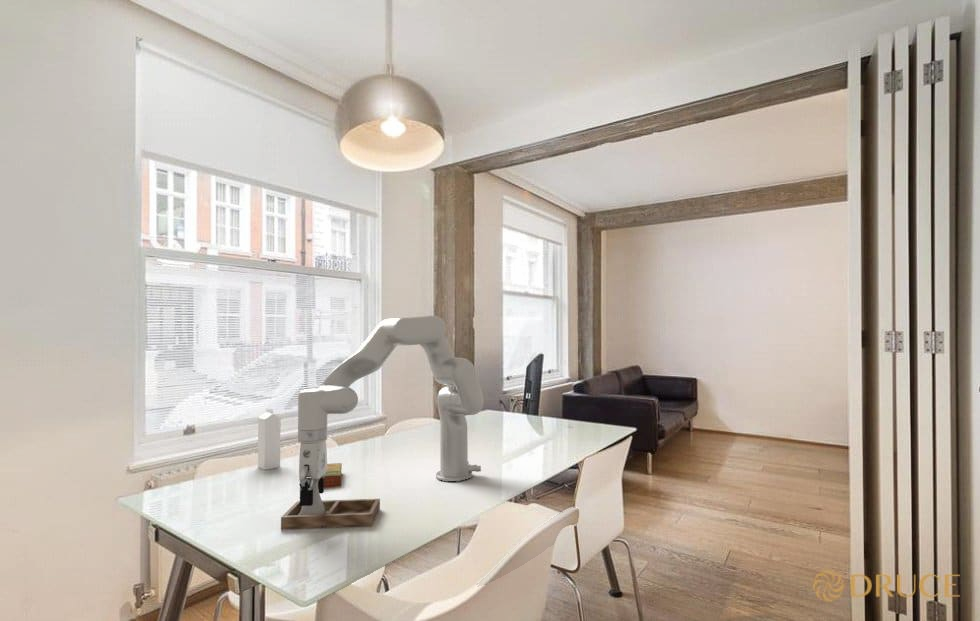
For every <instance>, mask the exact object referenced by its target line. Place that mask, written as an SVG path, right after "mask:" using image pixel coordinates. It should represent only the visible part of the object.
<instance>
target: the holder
mask: <svg viewBox="0 0 980 621" xmlns="http://www.w3.org/2000/svg"><path fill="white" fill-rule="evenodd" d="M321 500H322V499H321ZM380 501H381V498H360V499H359V498H358V499H331V500H330V499H329V500H328V499H327V500H324V499H323V500H322V503H323V505H324V508H325V511H326V514H323V515H300V512H301V509H302V506H300V500H298V501H296V502H295V503H294V504H293V505H292V506H291V507H290V508H289V509H288V510H286V512H284V514H283V515H282V516H280V530H283V529H285V530H305V529H306V530H311V529H335V528H336V529H340V528H365V527H367V528H368V527H373V525H374V524H375V521H376V519H377V516H378V514H379V512H380V511H381V502H380Z"/></svg>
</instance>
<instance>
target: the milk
mask: <svg viewBox="0 0 980 621" xmlns="http://www.w3.org/2000/svg"><path fill="white" fill-rule="evenodd" d="M281 420H282V419H281V416H279V415H277V414H275V413H274V409H272V408H271V409H270V408H266V409H265V412H264V413H263V414H261V415H260V416H259V417H258V423H257V425H258V427H257V428H258V429H257V430H258V432H257V434H258V436H257V437H258V438H257V441H258V442H257V468H258V467H259V469H261V470H263V471H267V470H270V469H271V470H272V469H275V468H280V467H281V425H282V424H281Z"/></svg>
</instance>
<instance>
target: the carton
mask: <svg viewBox="0 0 980 621" xmlns="http://www.w3.org/2000/svg"><path fill="white" fill-rule="evenodd" d="M342 466H343V465H342V462H335V463H332V462H331V463H327V472H326V473H325V474H324V489H325V488H336V487H341V486H342V484H341V483H342V469H343V468H342Z"/></svg>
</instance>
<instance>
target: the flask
mask: <svg viewBox="0 0 980 621" xmlns="http://www.w3.org/2000/svg"><path fill="white" fill-rule="evenodd" d="M318 481H319V480H315V479H314V480H313V485H312V489H313V505H311V506H302V509H301V512H300V515H323V514H326V511H325V508H324V505H323V503H322V498H321V493H319V489H318ZM309 483H310V482H308V484H309Z"/></svg>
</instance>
